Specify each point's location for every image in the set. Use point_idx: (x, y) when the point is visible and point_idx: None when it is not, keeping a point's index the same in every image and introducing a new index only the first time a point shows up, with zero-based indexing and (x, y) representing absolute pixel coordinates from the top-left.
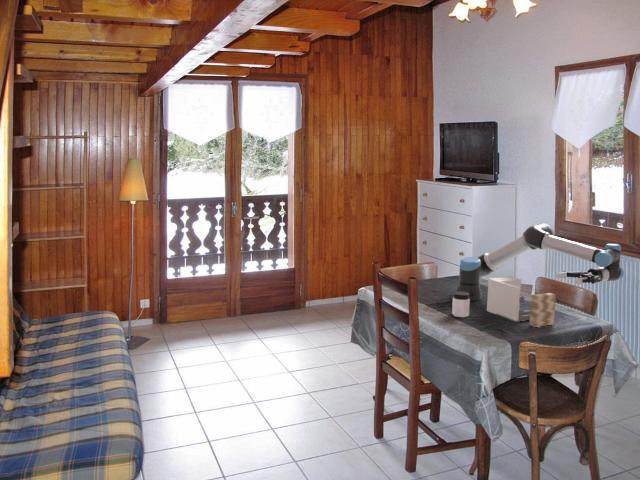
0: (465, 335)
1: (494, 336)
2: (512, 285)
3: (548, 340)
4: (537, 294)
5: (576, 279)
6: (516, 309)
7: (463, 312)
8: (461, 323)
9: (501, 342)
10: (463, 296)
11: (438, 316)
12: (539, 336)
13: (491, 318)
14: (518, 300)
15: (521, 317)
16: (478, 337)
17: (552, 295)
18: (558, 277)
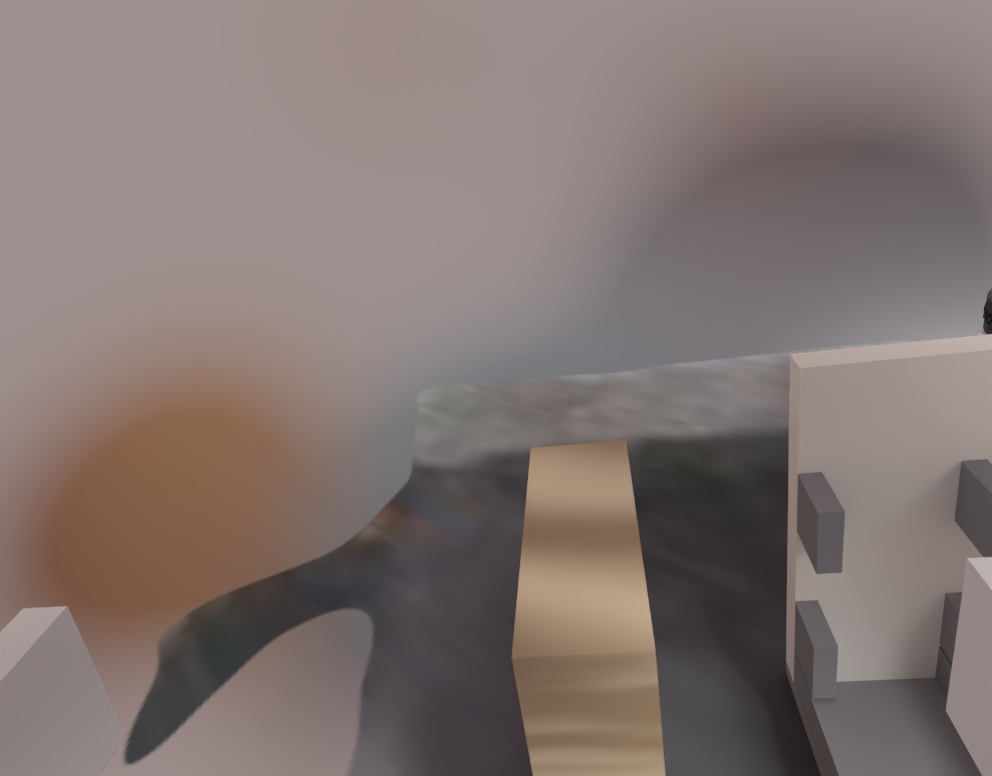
0: (597, 386)
1: (526, 452)
2: (947, 351)
3: (290, 625)
4: (619, 484)
5: (71, 635)
6: (789, 568)
7: None
8: None
9: (435, 444)
10: (986, 305)
11: None
12: (384, 624)
13: None
14: (794, 496)
15: (805, 694)
16: (547, 408)
17: (516, 612)
18: (985, 746)
